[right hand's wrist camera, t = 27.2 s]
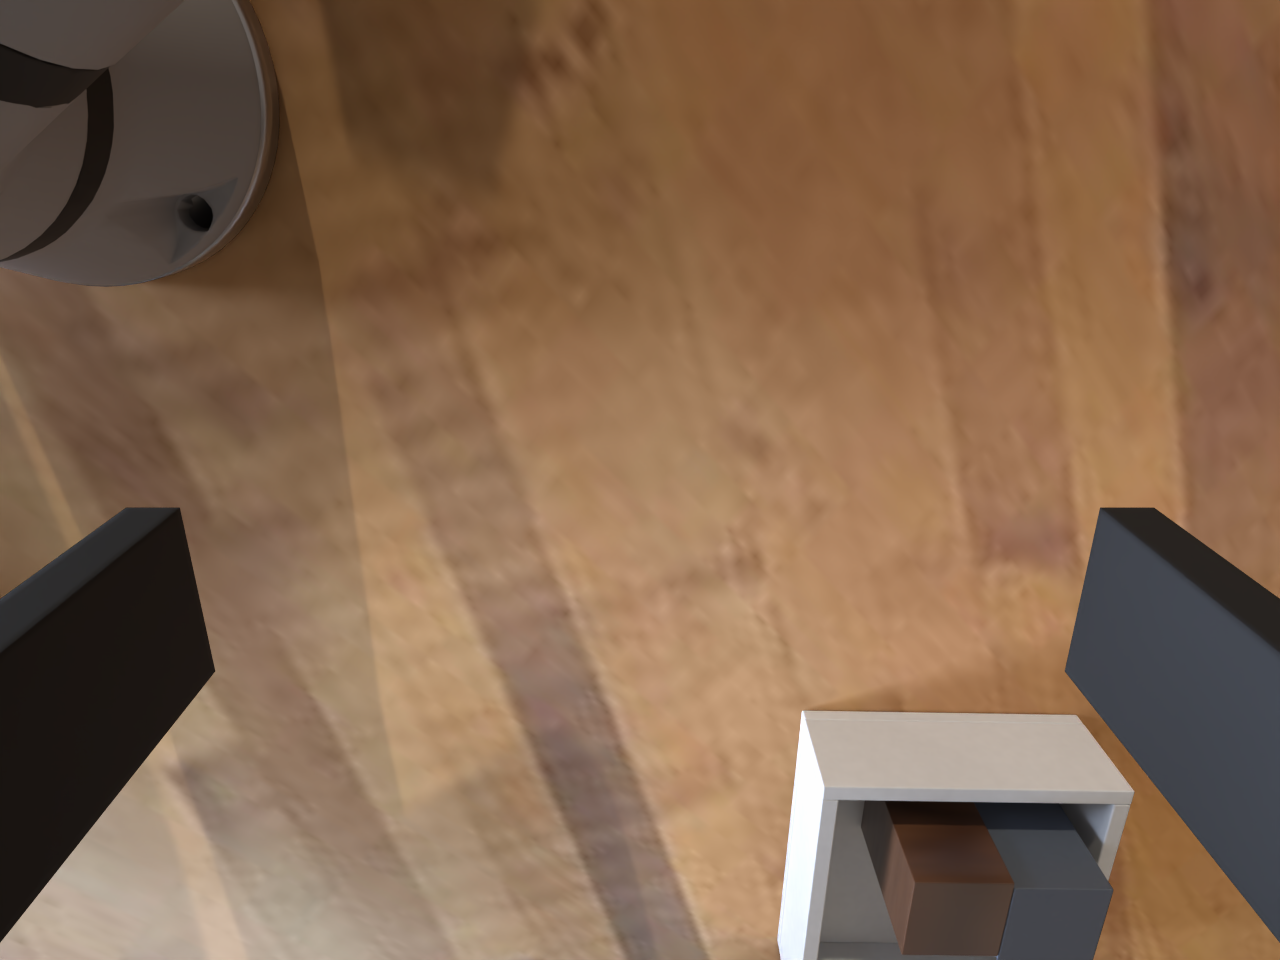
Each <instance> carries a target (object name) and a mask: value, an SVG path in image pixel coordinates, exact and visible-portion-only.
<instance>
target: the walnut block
mask: <svg viewBox="0 0 1280 960" xmlns="http://www.w3.org/2000/svg"><path fill="white" fill-rule="evenodd" d="M861 829H862V832H863V835H864V839H865V842H866V845H867V848H868V851H869V854H870V857H871V860H872V864H873V867H874V870H875V873H876V876H877V879H878V882H879V885H880V889H881V892H882V895H883V898H884V901H885V904H886V907H887V910H888V914H889V917H890V920H891V923H892V926H893V929H894V932H895V935H896V939H897V942H898V945H899V948H900V951H901V954H902V955H943V956H998V952H999V948H1000V944H1001V939H1002V935H1003V931H1004V927H1005V923H1006V918H1007V914H1008V910H1009V906H1010V902H1011V897H1012V893H1013V889H1014V885H1015V883H1014V881H1013V879H1012V877H1011V875H1010V873H1009V871H1008V869H1007V867H1006V865H1005V863H1004V861H1003V859H1002V857H1001V855H1000V853H999V851H998V849H997V847H996V845H995V843H994V841H993V839H992V837H991V835H990V833H989V831H988V829H987V827H986V825H985V823H984V821H983V819H982V818H981V816H980V814H979V812H978V810H977V808H976V806H975V804H974V802H942V801H877V800H865V802H864V809H863V816H862V823H861Z"/></svg>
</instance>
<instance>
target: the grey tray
mask: <svg viewBox="0 0 1280 960" xmlns="http://www.w3.org/2000/svg"><path fill="white" fill-rule="evenodd" d="M1133 795H1134V790H1133V789H1132V787H1131V786H1130V785H1129V783H1128V782H1127V781H1126V779H1125V778H1124V777H1123V776H1122V774H1121V773H1120V772H1119V770H1118V769H1117V768H1116V766H1115V765H1114V764H1113V762H1112V761H1111V760H1110V758H1109V757H1108V756H1107V754H1106V753H1105V752H1104V750H1103V749H1102V748H1101V746H1100V745H1099V744H1098V742H1097V741H1096V740H1095V738H1094V737H1093V736H1092V734H1091V733H1090V732H1089V730H1088V729H1087V728H1086V726H1085V725H1084V724H1083V723H1082V722H1081V720H1080V719H1079V718H1078V716H1077V715H1049V714H986V713H924V712H862V711H802V718H801V727H800V736H799V745H798V755H797V764H796V773H795V782H794V792H793V801H792V810H791V819H790V829H789V838H788V847H787V856H786V866H785V875H784V884H783V893H782V903H781V912H780V921H779V930H778V945H779V949H780V957H781V960H997V959H996V956H943V955H902V954H901V951H900V948H899V945H898V942H897V939H896V935H895V932H894V929H893V926H892V923H891V920H890V917H889V914H888V910H887V907H886V904H885V901H884V898H883V895H882V892H881V889H880V885H879V882H878V879H877V876H876V873H875V870H874V867H873V864H872V860H871V857H870V854H869V851H868V848H867V845H866V842H865V839H864V835H863V832H862V829H861V823H862V816H863V809H864V802H865V800H877V801H942V802H1008V803H1059V804H1060V805H1061V807H1062V809H1063V810H1064V812H1065V813H1066V815H1067V817H1068V818H1069V820H1070V821H1071V823H1072V825H1073V826H1074V828H1075V829H1076V831H1077V832H1078V834H1079V836H1080V837H1081V839H1082V840H1083V842H1084V844H1085V845H1086V847H1087V848H1088V850H1089V852H1090V853H1091V855H1092V856H1093V858H1094V860H1095V861H1096V863H1097V864H1098V866H1099V868H1100V869H1101V871H1102V872H1103V874H1104V875H1105V877H1106V879H1107V880H1109V877H1110V873H1111V870H1112V866H1113V863H1114V860H1115V856H1116V853H1117V849H1118V846H1119V842H1120V839H1121V836H1122V832H1123V829H1124V825H1125V822H1126V819H1127V815H1128V812H1129V808H1130V804H1131V802H1132V799H1133Z"/></svg>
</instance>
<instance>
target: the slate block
mask: <svg viewBox="0 0 1280 960" xmlns="http://www.w3.org/2000/svg"><path fill="white" fill-rule="evenodd" d="M974 804H975V806H976V808H977V810H978V812H979V814H980V816H981V818H982V819H983V821H984V823H985V825H986V827H987V829H988V831H989V833H990V835H991V837H992V839H993V841H994V843H995V845H996V847H997V849H998V851H999V853H1000V855H1001V857H1002V859H1003V861H1004V863H1005V865H1006V867H1007V869H1008V871H1009V873H1010V875H1011V877H1012V879H1013V881H1014V883H1015V885H1014V889H1013V893H1012V897H1011V902H1010V906H1009V910H1008V914H1007V918H1006V923H1005V927H1004V931H1003V935H1002V939H1001V944H1000V948H999V952H998V956H996V959H997V960H1093V958H1094V955H1095V951H1096V948H1097V944H1098V941H1099V938H1100V934H1101V931H1102V927H1103V924H1104V921H1105V917H1106V914H1107V910H1108V907H1109V904H1110V900H1111V897H1112V893H1113V888H1112V887H1111V885H1110V883H1109V882H1108V880H1107V879H1106V877H1105V875H1104V874H1103V872H1102V871H1101V869H1100V868H1099V866H1098V864H1097V863H1096V861H1095V860H1094V858H1093V856H1092V855H1091V853H1090V852H1089V850H1088V848H1087V847H1086V845H1085V844H1084V842H1083V840H1082V839H1081V837H1080V836H1079V834H1078V832H1077V831H1076V829H1075V828H1074V826H1073V825H1072V823H1071V821H1070V820H1069V818H1068V817H1067V815H1066V813H1065V812H1064V810H1063V809H1062V807H1061V805H1060V804H1059V803H1008V802H974Z"/></svg>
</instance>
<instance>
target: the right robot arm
mask: <svg viewBox="0 0 1280 960" xmlns="http://www.w3.org/2000/svg"><path fill="white" fill-rule="evenodd" d="M278 136H279V99H278V89H277V82H276V76H275V71H274V66H273V62H272V58H271V55H270V51H269V47H268V44H267V41H266V38H265V36H264V33H263V30H262V27H261V25H260V22H259V20H258V18H257V16H256V13H255V11H254V9H253V7H252V5H251V3H250V1H249V0H0V267H2V268H6V269H10V270H14V271H18V272H22V273H26V274H30V275H35V276H39V277H43V278H47V279H51V280H55V281H60V282H66V283H72V284H79V285H86V286H104V287H108V286H125V285H132V284H138V283H143V282H147V281H151V280H154V279H158V278H161V277H165V276H168V275H171V274H175V273H178V272H181V271H183V270H186V269H188V268H191V267H193V266H195V265H197V264H199V263H201V262H203V261H204V260H206V259H208V258H209V257H211V256H212V255H214V254H215V253H217V252H218V251H220V250H221V249H222V248H223V247H224V246H225V245H227V244H228V243H229V242H230V241H231V240H232V239H233V238H234V237H235V236H236V235H237V234H238V233H239V232H240V231H241V229H242V228H243V227H244V226H245V225H246V223H247V222H248V220H249V219H250V218H251V216H252V215H253V213H254V212H255V210H256V208H257V206H258V204H259V203H260V201H261V199H262V197H263V195H264V192H265V190H266V187H267V185H268V182H269V180H270V176H271V173H272V169H273V166H274V162H275V157H276V151H277V146H278ZM214 672H215V668H214V663H213V659H212V654H211V650H210V645H209V640H208V636H207V631H206V626H205V622H204V617H203V613H202V608H201V603H200V599H199V594H198V590H197V585H196V580H195V576H194V571H193V566H192V562H191V557H190V553H189V548H188V543H187V539H186V534H185V530H184V525H183V520H182V516H181V511H180V508H125V509H124V510H122V511H121V512H119V513H118V514H117V515H115V516H114V517H113V518H111V519H110V520H108V521H107V522H106V523H104V524H103V525H102V526H100V527H99V528H97V529H96V530H95V531H93V532H92V533H90V534H89V535H88V536H86V537H85V538H84V539H82V540H81V541H79V542H78V543H77V544H75V545H74V546H73V547H71V548H70V549H68V550H67V551H66V552H64V553H63V554H62V555H60V556H59V557H57V558H56V559H55V560H53V561H52V562H50V563H49V564H48V565H46V566H45V567H44V568H42V569H41V570H39V571H38V572H37V573H35V574H34V575H33V576H31V577H30V578H28V579H27V580H26V581H24V582H23V583H21V584H20V585H19V586H17V587H16V588H15V589H13V590H12V591H10V592H9V593H8V594H6V595H5V596H4V597H2V598H1V599H0V942H1V941H2V940H3V938H4V937H5V936H6V935H7V933H8V932H9V931H10V930H11V928H12V927H13V926H14V925H15V923H16V922H17V921H18V919H19V918H20V917H21V916H22V914H23V913H24V912H25V911H26V909H27V908H28V907H29V906H30V904H31V903H32V902H33V901H34V899H35V898H36V897H37V896H38V894H39V893H40V892H41V890H42V889H43V888H44V887H45V885H46V884H47V883H48V882H49V880H50V879H51V878H52V877H53V875H54V874H55V873H56V872H57V870H58V869H59V868H60V866H61V865H62V864H63V863H64V861H65V860H66V859H67V858H68V856H69V855H70V854H71V853H72V851H73V850H74V849H75V848H76V846H77V845H78V844H79V843H80V841H81V840H82V839H83V837H84V836H85V835H86V834H87V832H88V831H89V830H90V829H91V827H92V826H93V825H94V824H95V822H96V821H97V820H98V819H99V817H100V816H101V815H102V813H103V812H104V811H105V810H106V808H107V807H108V806H109V805H110V803H111V802H112V801H113V800H114V798H115V797H116V796H117V795H118V793H119V792H120V791H121V790H122V788H123V787H124V786H125V784H126V783H127V782H128V781H129V779H130V778H131V777H132V776H133V774H134V773H135V772H136V771H137V769H138V768H139V767H140V766H141V764H142V763H143V762H144V760H145V759H146V758H147V757H148V755H149V754H150V753H151V752H152V750H153V749H154V748H155V747H156V745H157V744H158V743H159V742H160V740H161V739H162V738H163V736H164V735H165V734H166V733H167V731H168V730H169V729H170V728H171V726H172V725H173V724H174V723H175V721H176V720H177V719H178V718H179V716H180V715H181V714H182V713H183V711H184V710H185V709H186V707H187V706H188V705H189V704H190V702H191V701H192V700H193V699H194V697H195V696H196V695H197V694H198V692H199V691H200V690H201V689H202V687H203V686H204V685H205V683H206V682H207V681H208V680H209V678H210V677H211V676H212V675H213V673H214ZM1065 672H1066V673H1067V675H1068V676H1069V677H1070V678H1071V680H1072V681H1073V682H1074V683H1075V685H1076V686H1077V687H1078V689H1079V690H1080V691H1081V692H1082V694H1083V695H1084V696H1085V697H1086V699H1087V700H1088V701H1089V702H1090V704H1091V705H1092V706H1093V707H1094V709H1095V710H1096V711H1097V713H1098V714H1099V715H1100V716H1101V718H1102V719H1103V720H1104V721H1105V723H1106V724H1107V725H1108V726H1109V728H1110V729H1111V730H1112V731H1113V733H1114V734H1115V735H1116V736H1117V738H1118V739H1119V740H1120V742H1121V743H1122V744H1123V745H1124V747H1125V748H1126V749H1127V750H1128V752H1129V753H1130V754H1131V755H1132V757H1133V758H1134V759H1135V760H1136V762H1137V763H1138V764H1139V766H1140V767H1141V768H1142V769H1143V771H1144V772H1145V773H1146V774H1147V776H1148V777H1149V778H1150V779H1151V781H1152V782H1153V783H1154V784H1155V786H1156V787H1157V788H1158V790H1159V791H1160V792H1161V793H1162V795H1163V796H1164V797H1165V798H1166V800H1167V801H1168V802H1169V803H1170V805H1171V806H1172V807H1173V808H1174V810H1175V811H1176V812H1177V813H1178V815H1179V816H1180V817H1181V819H1182V820H1183V821H1184V822H1185V824H1186V825H1187V826H1188V827H1189V829H1190V830H1191V831H1192V832H1193V834H1194V835H1195V836H1196V837H1197V839H1198V840H1199V841H1200V843H1201V844H1202V845H1203V846H1204V848H1205V849H1206V850H1207V851H1208V853H1209V854H1210V855H1211V856H1212V858H1213V859H1214V860H1215V861H1216V863H1217V864H1218V865H1219V866H1220V868H1221V869H1222V870H1223V872H1224V873H1225V874H1226V875H1227V877H1228V878H1229V879H1230V880H1231V882H1232V883H1233V884H1234V885H1235V887H1236V888H1237V889H1238V890H1239V892H1240V893H1241V894H1242V896H1243V897H1244V898H1245V899H1246V901H1247V902H1248V903H1249V904H1250V906H1251V907H1252V908H1253V909H1254V911H1255V912H1256V913H1257V914H1258V916H1259V917H1260V918H1261V919H1262V921H1263V922H1264V923H1265V925H1266V926H1267V927H1268V928H1269V930H1270V931H1271V932H1272V933H1273V935H1274V936H1275V937H1276V938H1277V940H1278V941H1279V942H1280V599H1279V598H1278V597H1276V596H1275V595H1274V594H1272V593H1271V592H1270V591H1268V590H1267V589H1265V588H1264V587H1263V586H1261V585H1260V584H1259V583H1257V582H1256V581H1254V580H1253V579H1252V578H1250V577H1249V576H1247V575H1246V574H1245V573H1243V572H1242V571H1241V570H1239V569H1238V568H1236V567H1235V566H1234V565H1232V564H1231V563H1230V562H1228V561H1227V560H1225V559H1224V558H1223V557H1221V556H1220V555H1218V554H1217V553H1216V552H1214V551H1213V550H1212V549H1210V548H1209V547H1207V546H1206V545H1205V544H1203V543H1202V542H1201V541H1199V540H1198V539H1196V538H1195V537H1194V536H1192V535H1191V534H1190V533H1188V532H1187V531H1185V530H1184V529H1183V528H1181V527H1180V526H1178V525H1177V524H1176V523H1174V522H1173V521H1172V520H1170V519H1169V518H1167V517H1166V516H1165V515H1163V514H1162V513H1161V512H1159V511H1158V510H1156V509H1155V508H1100V511H1099V516H1098V520H1097V525H1096V530H1095V534H1094V539H1093V543H1092V548H1091V553H1090V557H1089V562H1088V566H1087V571H1086V576H1085V580H1084V585H1083V590H1082V594H1081V599H1080V603H1079V608H1078V613H1077V617H1076V622H1075V626H1074V631H1073V636H1072V640H1071V645H1070V650H1069V654H1068V659H1067V663H1066V668H1065Z"/></svg>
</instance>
